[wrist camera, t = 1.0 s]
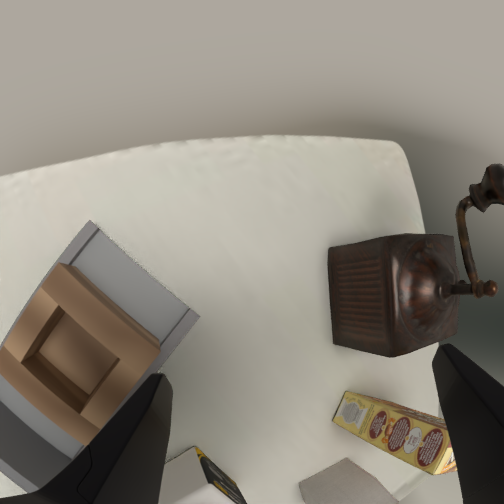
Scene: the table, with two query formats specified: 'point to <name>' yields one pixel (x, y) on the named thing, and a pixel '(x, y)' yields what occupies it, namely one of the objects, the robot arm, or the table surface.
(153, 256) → the table surface
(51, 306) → the block
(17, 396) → the rail board
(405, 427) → the candy box
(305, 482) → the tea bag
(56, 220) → the table surface
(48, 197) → the table surface
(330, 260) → the manual coffee grinder
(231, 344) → the table surface
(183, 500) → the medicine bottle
